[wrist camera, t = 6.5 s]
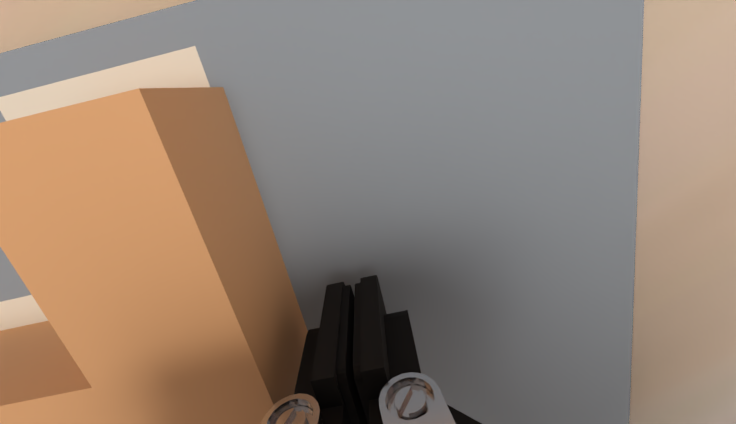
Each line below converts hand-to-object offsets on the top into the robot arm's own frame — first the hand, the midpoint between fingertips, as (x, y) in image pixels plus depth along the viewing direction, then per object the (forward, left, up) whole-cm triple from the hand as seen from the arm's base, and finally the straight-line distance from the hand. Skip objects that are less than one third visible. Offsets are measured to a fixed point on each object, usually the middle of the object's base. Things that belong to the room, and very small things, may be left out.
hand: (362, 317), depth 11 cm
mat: (0, +6, -2) cm, 6 cm away
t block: (0, +10, -1) cm, 10 cm away
